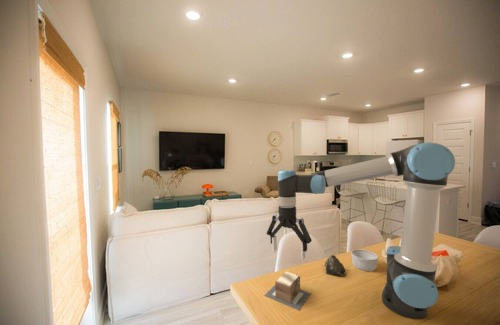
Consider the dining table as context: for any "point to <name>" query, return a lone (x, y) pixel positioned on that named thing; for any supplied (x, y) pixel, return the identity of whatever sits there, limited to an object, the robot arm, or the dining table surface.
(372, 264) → the ramekin
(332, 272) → the dark grey rock
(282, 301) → the mat
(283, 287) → the card box
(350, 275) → the dining table surface
